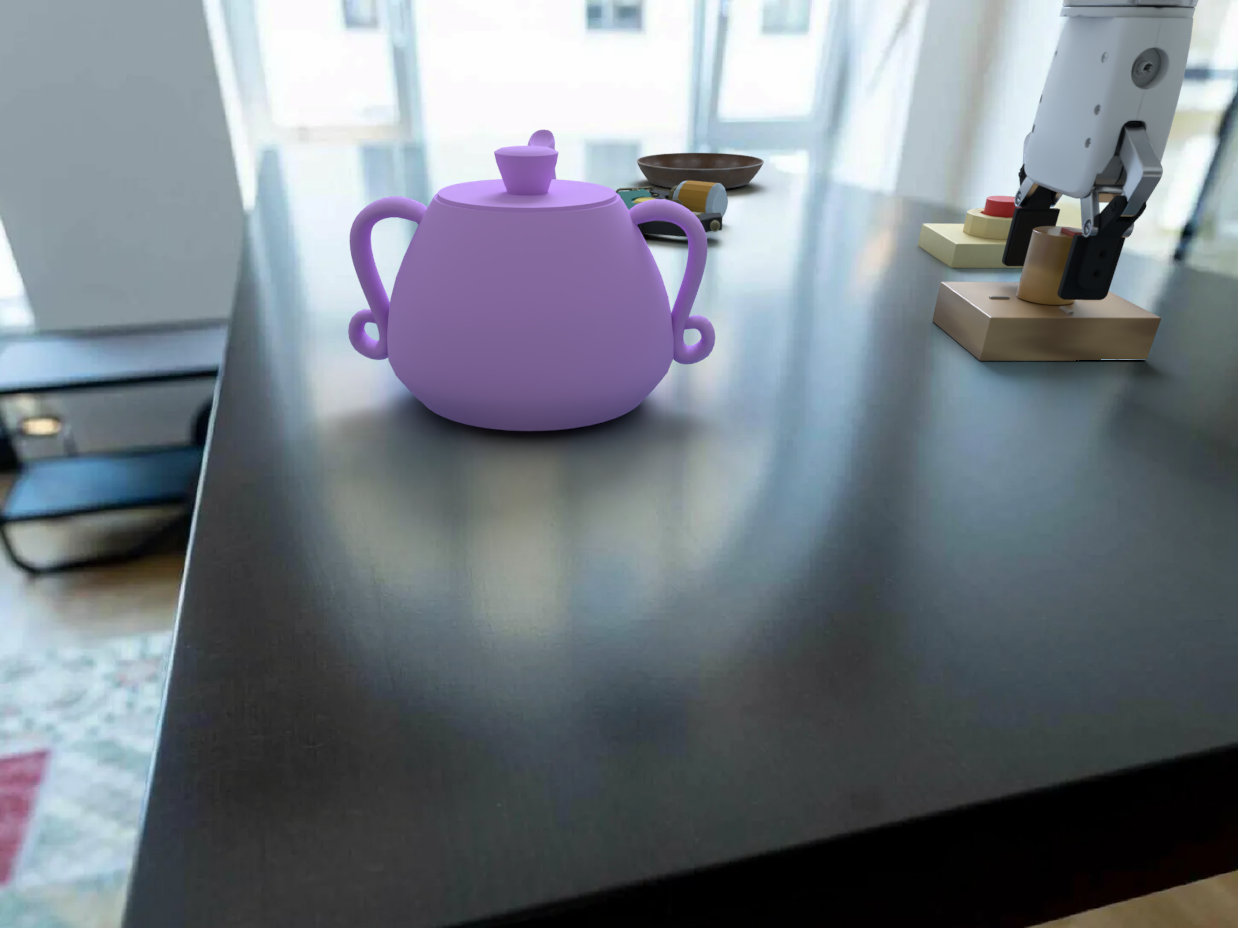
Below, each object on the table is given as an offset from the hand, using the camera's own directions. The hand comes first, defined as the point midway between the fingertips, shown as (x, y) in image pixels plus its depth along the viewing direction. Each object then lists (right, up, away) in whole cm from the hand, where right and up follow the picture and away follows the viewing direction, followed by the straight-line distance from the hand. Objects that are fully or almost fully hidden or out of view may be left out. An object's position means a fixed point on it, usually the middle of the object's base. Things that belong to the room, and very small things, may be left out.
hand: (1049, 280), depth 65 cm
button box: (+7, +13, +26) cm, 29 cm away
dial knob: (0, -1, +1) cm, 1 cm away
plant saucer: (-18, +39, +63) cm, 76 cm away
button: (+7, +16, +24) cm, 29 cm away
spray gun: (-25, +20, +36) cm, 49 cm away
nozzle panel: (0, -3, +2) cm, 4 cm away
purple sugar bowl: (-37, -10, -7) cm, 39 cm away
